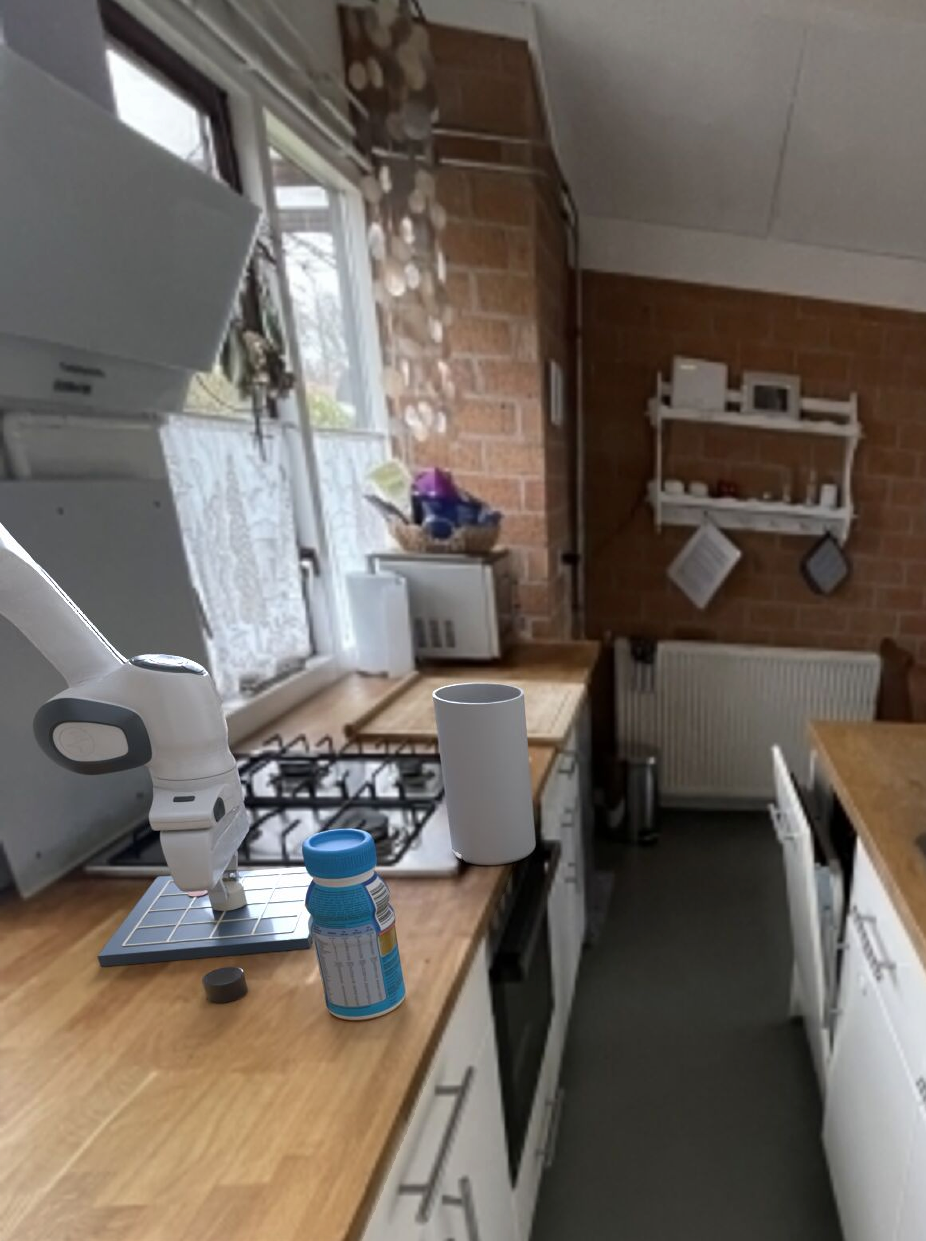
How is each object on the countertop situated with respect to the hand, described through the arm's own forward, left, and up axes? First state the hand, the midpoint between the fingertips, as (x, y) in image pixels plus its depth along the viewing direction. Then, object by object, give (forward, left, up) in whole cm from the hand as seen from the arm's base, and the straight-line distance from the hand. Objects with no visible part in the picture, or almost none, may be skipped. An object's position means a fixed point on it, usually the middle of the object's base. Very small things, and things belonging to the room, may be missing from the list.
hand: (226, 892), depth 114 cm
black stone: (+4, -20, -3) cm, 21 cm away
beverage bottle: (+19, -25, -4) cm, 32 cm away
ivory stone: (0, 0, -2) cm, 2 cm away
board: (0, 0, -3) cm, 3 cm away
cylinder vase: (+33, +16, -4) cm, 37 cm away
